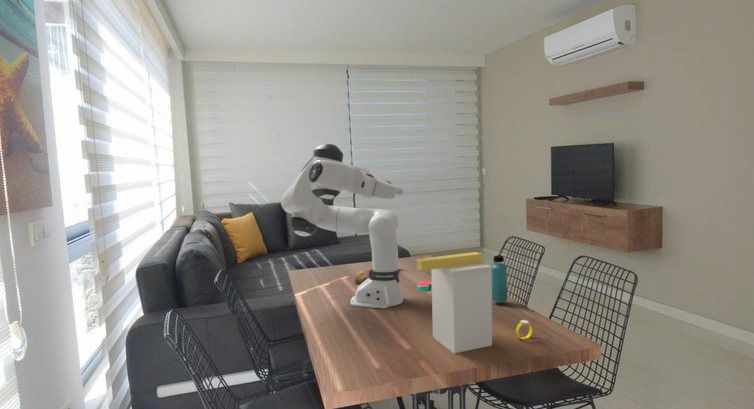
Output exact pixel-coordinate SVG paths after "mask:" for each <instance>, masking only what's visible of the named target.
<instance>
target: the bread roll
mask: <svg viewBox="0 0 754 409" xmlns="http://www.w3.org/2000/svg"><path fill="white" fill-rule="evenodd" d="M368 278H369V277H368V270H366V269H365V270H364V269H363V270H359V271H357V273H356V274H355V277H354V283H355V284H356V285H357V286H359V285H360V284H361V283H363V282H364V281H365V280H366V279H368Z"/></svg>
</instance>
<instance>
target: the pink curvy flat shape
mask: <svg viewBox="0 0 754 409" xmlns="http://www.w3.org/2000/svg"><path fill="white" fill-rule="evenodd" d="M430 288H432V280H430V281H426V280H425V281H422V282H418V283H416V290H418V291H429V290H430Z"/></svg>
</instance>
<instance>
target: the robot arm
mask: <svg viewBox="0 0 754 409" xmlns="http://www.w3.org/2000/svg"><path fill="white" fill-rule="evenodd" d="M312 154H313V156H312V157H311V158H310V159H309V160H308V161H307V162H306V163H305V164H304V166H303V167H302V169H301V170H300V173H299V174H298V176H297V178H296V179H295V180H294V182H293V183H292V184H291V186H289V187H288V188H287V189H286V190H285V191H284V192H283V194H282V196H281V199H280V205H281V207H282V209H283V211H284V212H286V213H288V214H290V215H291V218H290V219H289V223H290V227H291V230H292V231H293V233H294V234H295V235H298V236H300V237H311V236H312V235H315V233H316V231H317V229H318V228H320V229H323V230H326V231H331V232H337V233H344V234H352V235H361V234H362V235H368V234H369V240H370V242H369V243H370V247H371V248H370V249H371V259H372V260H371V262H372V263H371V264H372V267H370V268H368V270H367V271H368V277H369V278H368V279H366V280H365V281H364V282H363V283H361V284H360V285H357V286H358V287H357V288H356V290H355V295H354V296H352V297H351V298H350V305H351V306H353V307H363V308H364V307H365V308H372V309H373V308H374V309H375V308H376V309H387V308H390V307H394V306H398V305H401V304H402V303H403V302H404V298H403V295H402V292H401V286H400V281H401V273H400V268H399V250H398V244H397V233H396V232H397V229H398V227H399V223H400V222H399V221H400V220H399V218H398V216H397V214H396V213H395V212H394V211H393V210H390V209H381V208H359V207H351V206H350V207H349V206H340V205H328V204H325V203H324V202H325V201H326V200H329V201H332V200H334V199H336V198H337V197H338V196H339V195H340V194H341V191H344V192H347V193H350V194H356V195H359V196H360V195H361V196H362V197H366V198H369V199H371V198H372V197H375V198H381V199H389V200H392V199H395V197H396V195H400V196H402V195H403V193H404V189H403V188H400V187H396V186H394V185H392V182H391V181H390V180H387V179H386V180H385V179H383V178H381V177H380V176H378V175H377V174H376V173H374V172H370V169H368V168H367V167H362V166H358V165H354V164H353V165H351V164H350V165H349V164H345V163H343V162H344V161H343V158H344V153H343V152H342V150H341V149H340V148H339V147H338V145H335V144H331V143H323V144H320V145H318V146H317V147H316V148H315V149H314V150H313V153H312Z"/></svg>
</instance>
